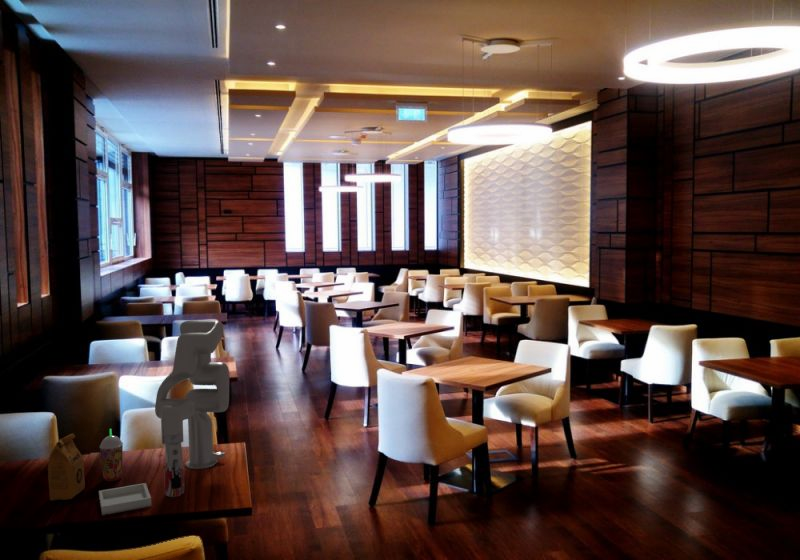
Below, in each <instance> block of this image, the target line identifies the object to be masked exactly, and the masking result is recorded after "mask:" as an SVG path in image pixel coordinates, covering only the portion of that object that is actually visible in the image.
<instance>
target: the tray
mask: <svg viewBox="0 0 800 560" xmlns="http://www.w3.org/2000/svg"><path fill="white" fill-rule="evenodd" d="M98 500H100V501H99V505H100V510H101V516H107V515H112V514H116V513H117V514H118V513H121V512H122V513H123V512H128V511H133V510H139V509H143V508H149V507H152V496H151V494H150V491H149V489H148V485H147V483H146V482H145V483H144V482H142V483H137V484H131V485H126V486H122V487H115V488H108V489H102V490H98ZM106 514H107V515H106Z"/></svg>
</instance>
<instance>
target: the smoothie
mask: <svg viewBox="0 0 800 560" xmlns="http://www.w3.org/2000/svg"><path fill="white" fill-rule="evenodd" d="M123 446H124V443H123V442H122V440H121V438H120V437H118V436H117V435H113V433H112V428H109V435H108V436H105V438H103V439H102V441H101V443H100V445H99V450H100V459H101V469H102V476H103V477H102V478H104V481H106V482H116V481H119V480H121V477H122V475H123V451H124V450H123Z"/></svg>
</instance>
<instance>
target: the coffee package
mask: <svg viewBox="0 0 800 560" xmlns="http://www.w3.org/2000/svg"><path fill="white" fill-rule="evenodd" d="M75 438H76V436H75V434H74V433H70V434H68V435H66V436H64V437H63V438H60V439H59V440H58V441H57V442H56V443H55V446H54V447H53V449H52V451H51V453H50V455H49V458H48V465H47V466H48V467H47V471H48V472H47V478H48V490H49V491H48V492H49V501H52V502H53V501H59V500H60V501H61V500H64V501H67V500H72V499H74V497H75V496H76V495H78V494H80V493H81V492H82V491H83V490H85V486H86V482H85V480H86V479H85V462H84V459H83V456H82V455H83V454H81V452H80V451H79V449H78V448H77V447H76V444H75V442H74V440H73V439H75Z"/></svg>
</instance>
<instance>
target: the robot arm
mask: <svg viewBox="0 0 800 560" xmlns="http://www.w3.org/2000/svg"><path fill="white" fill-rule="evenodd" d="M224 331H225V329H224V324H223V322H221V321H220V320H216V319H215V320H213V319H211V320H208V319H206V320H203V319H196V320H195V319H193V320H191V319H190V320H185V321H183V322H181V323H180V325H179V333H180V335H179V336H178V337H177V340H176V346H175V354H174V360H173V367H172V371H171V373H170V374H168V375H167V376H166V377H165V378H164V379H163V381H161V384H160V385H159V387H158V389H157V392H156V398H155V405H154V406H155V407H154V412H155V416H156V418H158V419H160V427H161V431H160V432H161V444H162V445H164V454H165V455H164V457H165V464H167V465H168V469H169V471H171V473H172V478H171V488H172V489H176V488H180V487H181V477H180V470H179V468H180V469H181V470H183V466H184V462H183V460H184V459H183V448H182V443H183V442H184V421H185V420H187V427H188V428H187V431H188V433H187V434H188V455H189V457H188V460H187V461H186V462H185V467H186V468H187V469H190V470H205V469H209V467H210V468H212V466H213V467H215V466H216V465H217V464H218V459H220V458H221V459H222V458H226V452H221V451H218V452H215V451H214V439H213V438H214V437H213V420H212V418H211V417H210V415H209V414H208V413H224V412H226V411H227V409H228V408H229V405H230V404H229V403H230V369H229V367H228V365H227V364H226V362H222V361H212V354H213V353H214V352H215V351H216V349H217V348H218V346H219V343H220V342H221V341H222V339H223V336H224ZM188 379H189V383H191V384H192V385H194V386H215V388H192V389H190V390H189V391H187V392H186V393H185V396H184V398H168V395H169V392H170V391H171V389H172V388H173V387H174V386H176V385H178V384H179V383H182V382H183V381H186V380H188ZM173 463H174V464H173ZM216 463H217V464H216ZM215 464H216V465H215ZM214 465H215V466H214ZM174 468H175V469H174ZM173 472H174V473H173Z"/></svg>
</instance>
